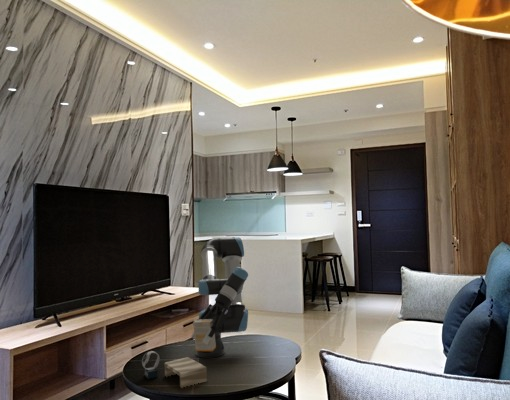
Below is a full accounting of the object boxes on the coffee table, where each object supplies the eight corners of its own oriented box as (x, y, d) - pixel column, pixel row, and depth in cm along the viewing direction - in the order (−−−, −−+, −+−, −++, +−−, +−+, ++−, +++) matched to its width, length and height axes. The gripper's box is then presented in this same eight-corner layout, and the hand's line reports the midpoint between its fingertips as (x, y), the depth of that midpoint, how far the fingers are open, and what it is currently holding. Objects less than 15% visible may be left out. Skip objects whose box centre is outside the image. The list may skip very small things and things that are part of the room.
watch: (140, 376, 184) (140, 352, 184) (157, 372, 188) (157, 348, 189) (144, 380, 179) (143, 355, 180) (161, 376, 183) (161, 351, 184)
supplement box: (216, 347, 180) (214, 318, 180) (212, 351, 175) (209, 322, 175) (199, 347, 182) (197, 318, 182) (195, 351, 177) (192, 321, 177)
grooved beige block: (164, 376, 183) (164, 362, 184) (188, 369, 190) (188, 356, 191) (181, 388, 169) (181, 373, 169) (206, 381, 176) (206, 367, 176)
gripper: (244, 305, 180) (217, 350, 170) (218, 298, 197) (192, 339, 187) (234, 295, 176) (206, 341, 166) (208, 289, 193) (181, 331, 183)
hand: (198, 340), depth 176 cm, fingers closed on supplement box, 9 cm apart
